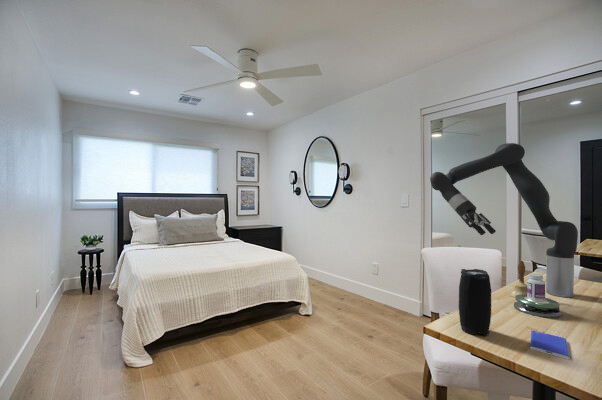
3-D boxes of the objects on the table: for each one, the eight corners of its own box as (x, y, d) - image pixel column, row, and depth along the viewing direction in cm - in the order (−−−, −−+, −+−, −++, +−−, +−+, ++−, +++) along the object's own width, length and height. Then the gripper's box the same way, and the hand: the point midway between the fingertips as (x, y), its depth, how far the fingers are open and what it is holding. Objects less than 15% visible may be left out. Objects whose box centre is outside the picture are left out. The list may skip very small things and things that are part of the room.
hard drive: (531, 329, 90) (530, 345, 80) (566, 338, 84) (569, 355, 75) (531, 334, 90) (530, 350, 80) (566, 343, 84) (569, 361, 75)
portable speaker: (453, 328, 92) (453, 269, 92) (469, 322, 97) (469, 266, 97) (480, 340, 85) (481, 276, 85) (496, 332, 90) (496, 272, 90)
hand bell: (531, 301, 117) (532, 264, 117) (507, 296, 123) (507, 260, 123) (535, 297, 123) (535, 261, 123) (512, 292, 129) (512, 258, 129)
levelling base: (512, 301, 118) (512, 291, 118) (556, 308, 110) (556, 297, 110) (515, 312, 106) (515, 301, 106) (565, 321, 98) (565, 309, 98)
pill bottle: (546, 299, 108) (547, 275, 108) (543, 303, 104) (543, 277, 104) (529, 296, 112) (529, 272, 112) (525, 298, 109) (525, 274, 109)
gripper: (459, 199, 122) (487, 228, 112) (476, 200, 129) (504, 227, 119) (447, 211, 126) (473, 240, 117) (464, 210, 134) (490, 237, 124)
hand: (488, 233), depth 118 cm, fingers open, 8 cm apart
